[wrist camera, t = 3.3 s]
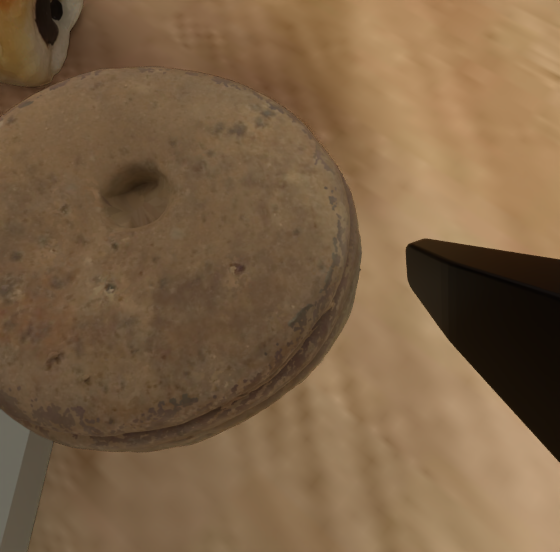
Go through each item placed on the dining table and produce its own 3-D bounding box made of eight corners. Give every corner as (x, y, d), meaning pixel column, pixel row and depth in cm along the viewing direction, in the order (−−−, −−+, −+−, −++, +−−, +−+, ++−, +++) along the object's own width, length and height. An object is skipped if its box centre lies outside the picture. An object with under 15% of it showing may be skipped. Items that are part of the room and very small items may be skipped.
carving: (96, 327, 17) (-228, 183, 6) (249, 223, 19) (237, -56, 7) (186, 464, 16) (6, 628, 5) (342, 341, 18) (504, 230, 6)
